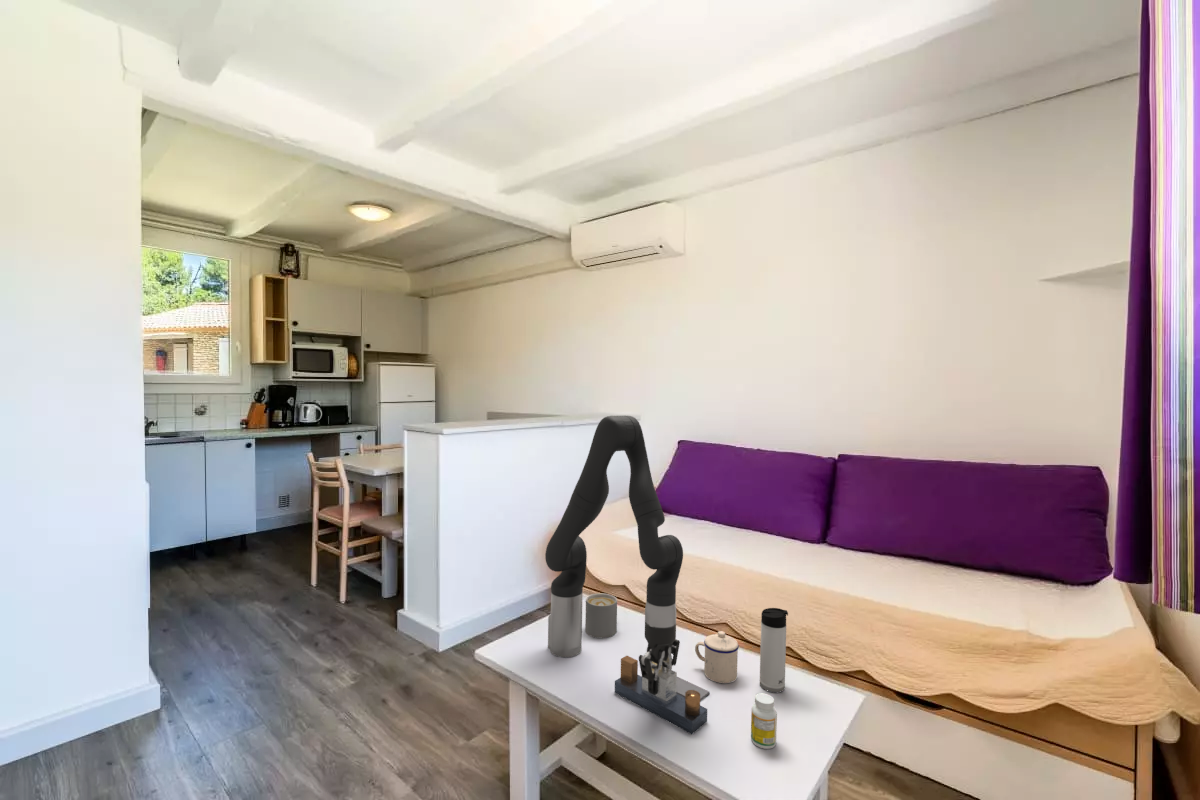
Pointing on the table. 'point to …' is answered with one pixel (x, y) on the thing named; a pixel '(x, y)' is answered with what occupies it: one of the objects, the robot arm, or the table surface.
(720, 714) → the table surface
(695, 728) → the hand plane
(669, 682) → the lever cap
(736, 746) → the table surface
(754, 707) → the supplement bottle
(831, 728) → the table surface
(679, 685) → the rubber mat
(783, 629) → the travel mug
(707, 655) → the teacup with lid
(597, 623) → the coffee mug
